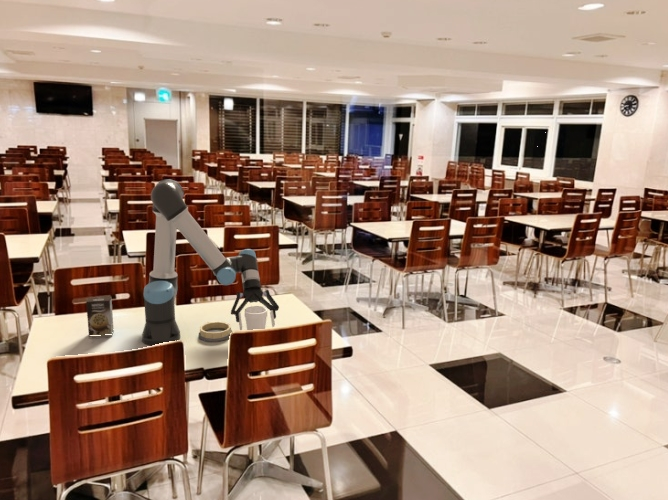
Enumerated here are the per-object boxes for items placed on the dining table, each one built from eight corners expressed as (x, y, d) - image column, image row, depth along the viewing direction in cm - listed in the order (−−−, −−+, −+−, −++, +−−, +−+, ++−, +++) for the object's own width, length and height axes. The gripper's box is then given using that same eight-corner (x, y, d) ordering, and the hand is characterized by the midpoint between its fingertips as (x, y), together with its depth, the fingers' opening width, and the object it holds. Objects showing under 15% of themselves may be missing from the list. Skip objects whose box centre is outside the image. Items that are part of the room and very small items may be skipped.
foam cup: (269, 335, 222) (269, 306, 219) (264, 344, 213) (264, 314, 210) (248, 334, 223) (247, 305, 220) (242, 342, 214) (241, 313, 211)
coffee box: (88, 338, 214) (85, 301, 210) (91, 333, 220) (88, 296, 216) (112, 337, 216) (109, 300, 213) (114, 331, 222) (111, 295, 219)
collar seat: (199, 343, 212) (199, 335, 211) (197, 330, 225) (197, 322, 224) (234, 340, 216) (234, 331, 216) (230, 327, 229) (230, 320, 229)
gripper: (278, 284, 232) (285, 327, 222) (221, 288, 225) (226, 333, 215) (280, 276, 226) (288, 320, 216) (222, 280, 219) (227, 326, 208)
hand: (257, 327), depth 215 cm, fingers open, 13 cm apart
